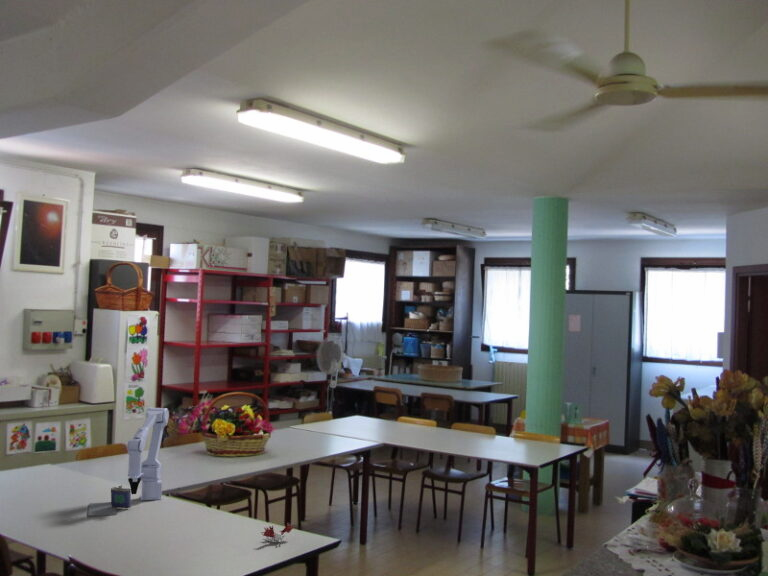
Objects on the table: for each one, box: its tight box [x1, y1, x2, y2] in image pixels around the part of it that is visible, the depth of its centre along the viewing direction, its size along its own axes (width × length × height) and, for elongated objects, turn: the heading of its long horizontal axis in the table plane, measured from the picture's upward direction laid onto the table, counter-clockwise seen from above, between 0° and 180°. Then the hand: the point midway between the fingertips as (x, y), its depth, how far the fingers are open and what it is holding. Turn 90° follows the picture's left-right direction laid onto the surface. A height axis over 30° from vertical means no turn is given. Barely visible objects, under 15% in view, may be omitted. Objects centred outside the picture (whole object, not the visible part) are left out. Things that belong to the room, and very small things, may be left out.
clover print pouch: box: [110, 485, 132, 509], centre depth 334 cm, size 9×3×11 cm, turn 87°
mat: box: [87, 501, 118, 518], centre depth 332 cm, size 12×20×1 cm, turn 21°
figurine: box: [261, 522, 294, 543], centre depth 297 cm, size 15×12×7 cm
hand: (133, 493), depth 337 cm, fingers closed
